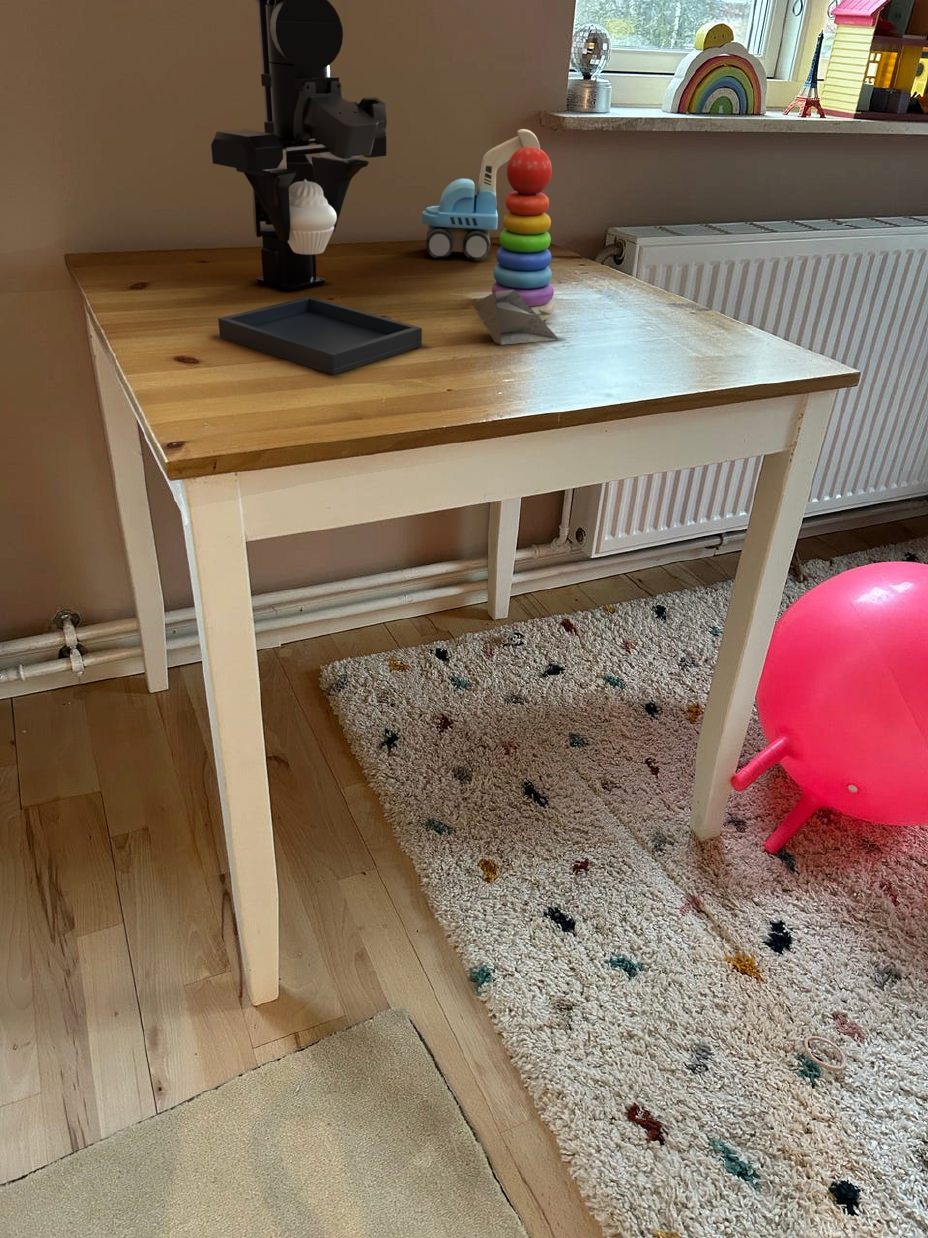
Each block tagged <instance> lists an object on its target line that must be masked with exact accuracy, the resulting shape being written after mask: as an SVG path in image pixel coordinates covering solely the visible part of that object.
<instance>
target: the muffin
mask: <svg viewBox="0 0 928 1238" xmlns="http://www.w3.org/2000/svg"><path fill="white" fill-rule="evenodd" d="M289 206H290V237H289V241H288V243H289V245H290V247H291V249H292V250H293V252H295V253H298V254H306V255H313V254H314V255H315V254H316V255H320V254H323V253H324V252H325V250H326V248H327V245H328V243H329V241H330V239H331V237H332V235H333V233H332V232H333V230H334V224H335V223H336V219H337V216H336V212H335V210H334V209H333V208H332V207H331V206H330V205H329V204H328V202H327V199H326V198H325V197H324V195H323V190H322V188H321V187H320V186H319V185H318V184H317V183H314V182H309V181H307V180H306V179H305V180H304V181H299V182H295V183H294V184H292V185H291V186H290V187H289Z"/></svg>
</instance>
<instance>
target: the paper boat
mask: <svg viewBox="0 0 928 1238" xmlns="http://www.w3.org/2000/svg"><path fill="white" fill-rule="evenodd" d="M471 305H472V307H473V308H474V310H475V312H476V313H477V315H478V317H479V318H480V320H481V321H482V323H483V325H484V326H485V329H486V330H487V331H488V334H489V335H490V337H491V338H492V340H493V342H494V343H495V344H498V345H501V346H503V345H513V344H525V343H537V342H545V341H546V342H548V341H559V340H560V339H559V338H558V336H557V335H556V334H555V333H554V332H553V330H552V329H551V328H550V327H549V326H548V325H547V324H546V323H545V322H544V320H543V321H542V320H541V319H540V317H539V316H538V315H550V314H551V313H548V312H545V311H543V310H540V309H538V311H539V312H540V313H541V314H536V313H535V312H534V311H533V310H532V309H531V307H530V306H529V305H528V304H527V303H526V302H525V301H524V300H523V299H522V297H521V296H520V295H519V294H518V293H517V292H516V291H515V290H507V291H498V292H494V293H492V292H491V294H489V295H486V296H485V297H483V298H481V299H479V300H477V301H475V302H473V303H472V304H471Z"/></svg>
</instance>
